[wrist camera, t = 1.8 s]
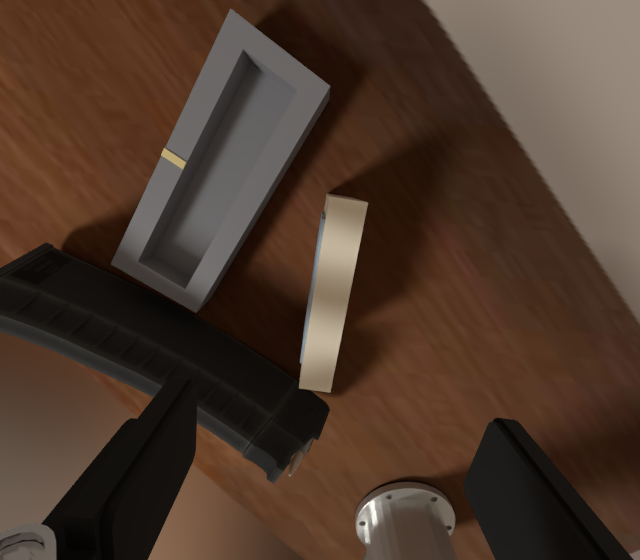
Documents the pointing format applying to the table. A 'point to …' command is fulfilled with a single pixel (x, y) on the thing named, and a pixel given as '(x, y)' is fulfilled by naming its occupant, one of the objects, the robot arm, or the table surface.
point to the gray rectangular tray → (221, 164)
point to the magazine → (160, 353)
